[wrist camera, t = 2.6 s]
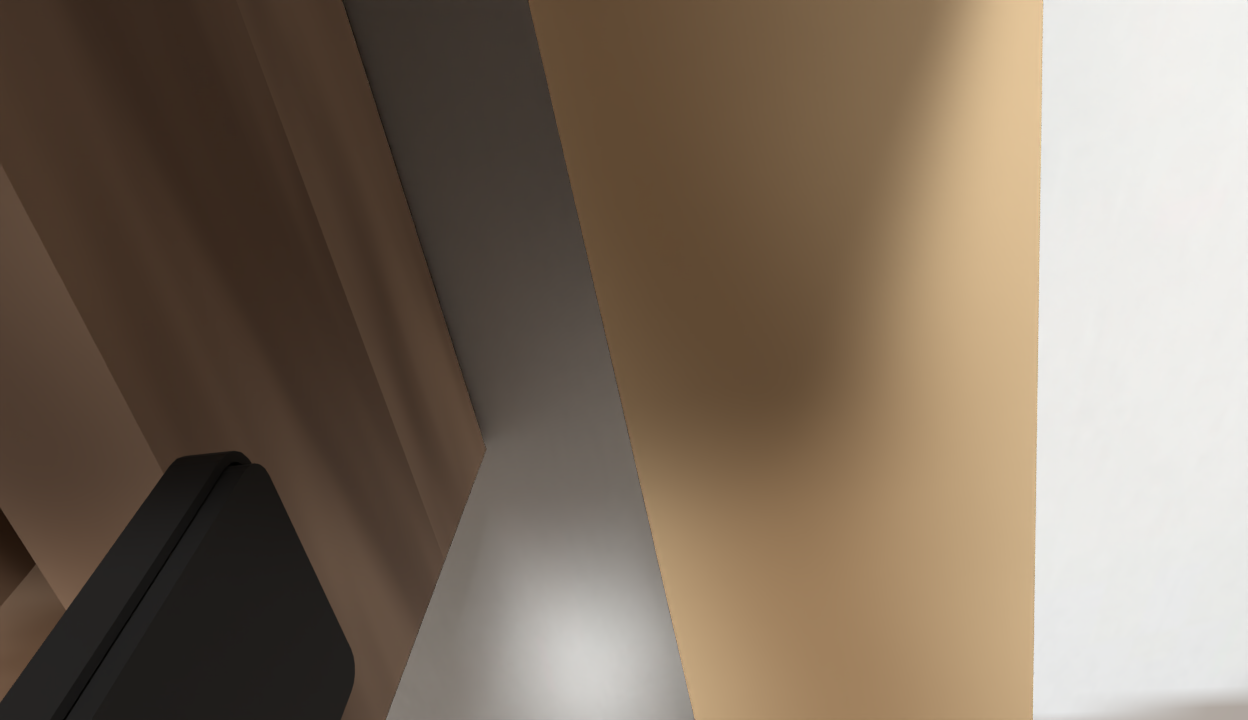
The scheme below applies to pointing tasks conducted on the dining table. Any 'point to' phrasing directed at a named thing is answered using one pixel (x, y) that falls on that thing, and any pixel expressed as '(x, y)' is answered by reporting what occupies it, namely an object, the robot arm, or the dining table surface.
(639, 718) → the dining table surface
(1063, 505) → the dining table surface
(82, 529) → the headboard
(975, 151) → the tan grey block
